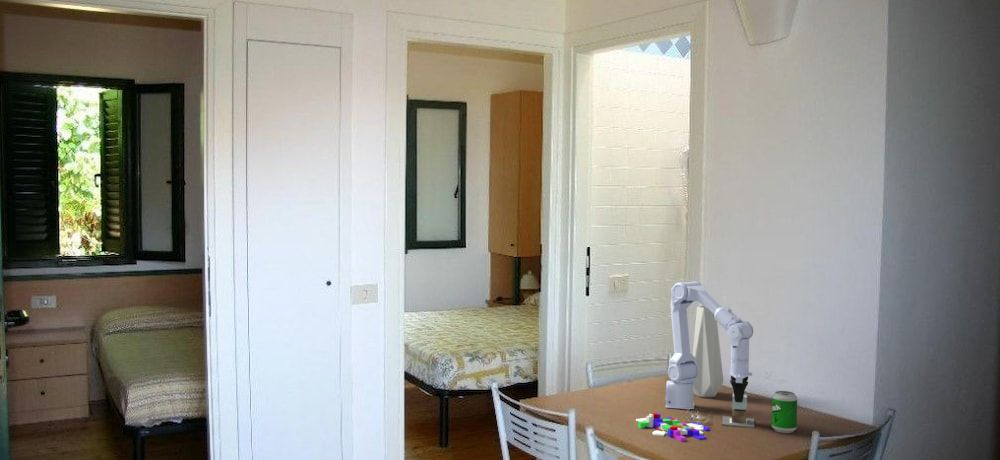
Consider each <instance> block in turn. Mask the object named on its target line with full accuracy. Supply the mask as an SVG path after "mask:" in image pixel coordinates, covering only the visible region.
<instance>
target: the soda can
mask: <svg viewBox="0 0 1000 460" xmlns="http://www.w3.org/2000/svg"><path fill="white" fill-rule="evenodd" d="M771 397H772V399H771V401H772V402H771V428H772V429H773V430H774V431H775V432H778V433H780V434H781V433H782V434H791V433H792V434H793V433H794V431H796V430H797V426H798V425H797V423H798V422H797V421H798V396H797V395H796V393H795V392H793V391H786V390H776V391H775V392H774V393H773V394H772V396H771Z"/></svg>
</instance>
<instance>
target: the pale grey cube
mask: <svg viewBox="0 0 1000 460" xmlns="http://www.w3.org/2000/svg"><path fill="white" fill-rule="evenodd" d="M731 397H732V407H731V410H732V409H743V410H746V411H747V410H748V408H747V407H748V394H747V393H746V394H745V393H744V397H743V401H742V403H741V402H735V397H734V392H733V393H732V396H731Z"/></svg>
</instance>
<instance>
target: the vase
mask: <svg viewBox="0 0 1000 460" xmlns="http://www.w3.org/2000/svg"><path fill="white" fill-rule="evenodd" d="M695 313H696V314H695V317H696V318H695V323H694V326H695V327H694V337H693V349H692V355H693V356H694V357H695V359H696V364H697V366H698V371H699V372H698V376H697V377H696V378H695V381H694V384H693V395H695V396H698V397H700V398H715V397H716V396H717V393H718V392H719V390H720V388H721V387H722V385H723V383H724V373H723V364H722V363H723V362H722V356H721V355H722V353H721V345H720V336H719V327H718V322H717V321H716V320H715V317H714V314H713V313H712V312H711V311H710V310H708V309H707V308H706V307H705V306H703V305H698V306H697V307H696V312H695Z"/></svg>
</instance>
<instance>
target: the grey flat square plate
mask: <svg viewBox="0 0 1000 460" xmlns="http://www.w3.org/2000/svg"><path fill="white" fill-rule="evenodd" d="M721 426H727V427H728V426H729V427H740V428H751V429H752V428H753V429H755V418H753V417H752V418H750V417H746V424H743V423H732V416H727V415H722V422H721Z"/></svg>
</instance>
